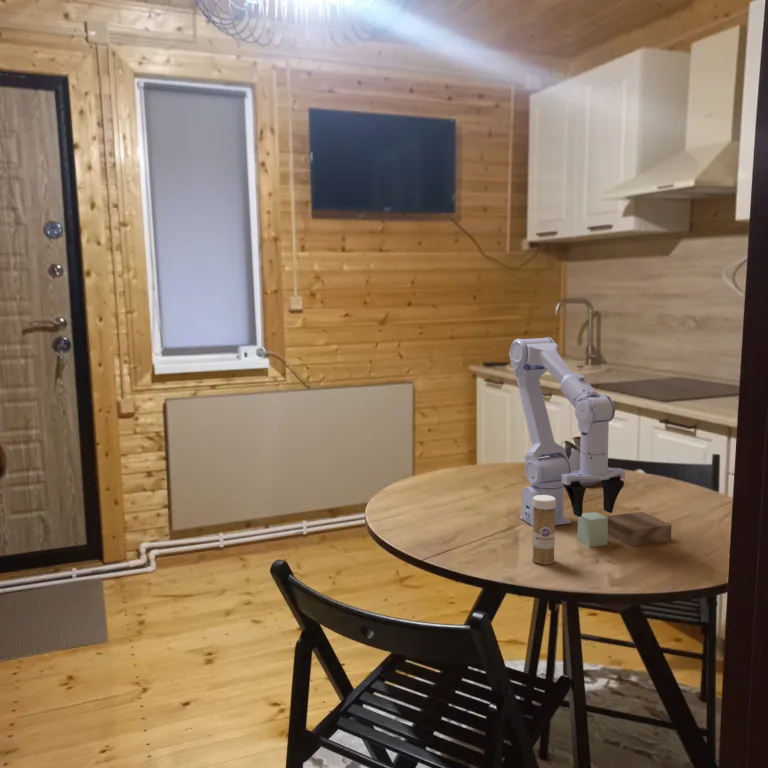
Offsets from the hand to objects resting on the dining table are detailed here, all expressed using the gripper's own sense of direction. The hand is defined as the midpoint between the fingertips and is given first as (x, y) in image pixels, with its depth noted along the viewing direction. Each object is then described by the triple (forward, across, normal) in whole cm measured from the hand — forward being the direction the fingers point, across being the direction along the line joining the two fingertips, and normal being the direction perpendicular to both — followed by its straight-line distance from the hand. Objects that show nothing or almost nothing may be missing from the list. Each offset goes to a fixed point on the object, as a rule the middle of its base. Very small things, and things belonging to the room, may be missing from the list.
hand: (593, 513), depth 153 cm
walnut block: (+6, +12, 0) cm, 13 cm away
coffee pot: (+7, +22, +39) cm, 45 cm away
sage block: (+7, 0, 0) cm, 7 cm away
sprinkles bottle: (+7, -16, -6) cm, 18 cm away
